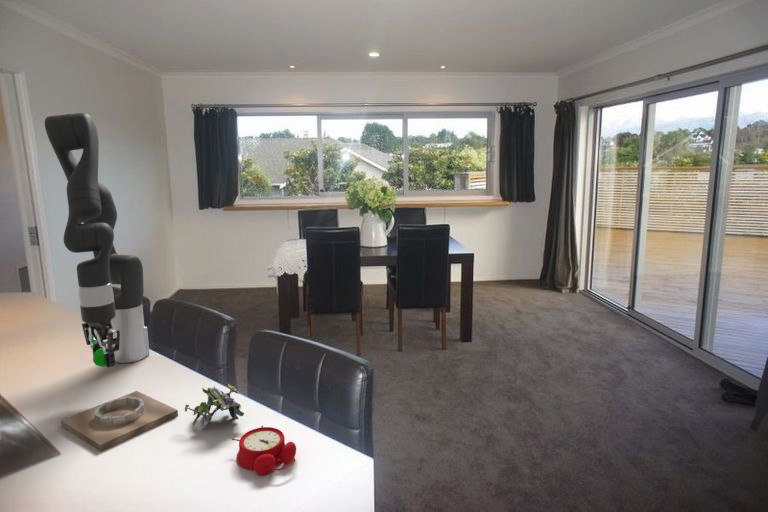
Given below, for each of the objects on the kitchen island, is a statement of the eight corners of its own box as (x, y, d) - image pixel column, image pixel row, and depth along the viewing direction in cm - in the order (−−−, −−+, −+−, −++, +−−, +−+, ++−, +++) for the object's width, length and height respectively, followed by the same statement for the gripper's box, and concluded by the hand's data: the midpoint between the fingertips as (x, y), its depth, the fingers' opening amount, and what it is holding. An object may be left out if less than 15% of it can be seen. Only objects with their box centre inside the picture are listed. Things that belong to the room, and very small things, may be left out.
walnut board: (137, 396, 124) (136, 390, 124) (178, 415, 115) (177, 409, 114) (61, 426, 109) (60, 420, 109) (100, 451, 100) (100, 444, 100)
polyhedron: (116, 367, 122) (114, 349, 121) (94, 371, 120) (92, 353, 119) (114, 360, 126) (113, 343, 125) (93, 364, 124) (91, 347, 123)
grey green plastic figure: (233, 438, 115) (257, 407, 111) (193, 451, 106) (217, 418, 102) (213, 401, 120) (234, 370, 116) (173, 411, 111) (195, 377, 107)
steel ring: (130, 400, 119) (129, 393, 118) (152, 412, 113) (152, 404, 113) (87, 417, 110) (86, 409, 110) (109, 430, 105) (108, 422, 105)
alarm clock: (266, 420, 106) (305, 431, 96) (271, 447, 106) (310, 461, 96) (223, 438, 99) (261, 452, 88) (228, 467, 99) (266, 485, 89)
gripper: (127, 302, 119) (134, 364, 122) (97, 293, 126) (104, 353, 130) (96, 309, 113) (104, 375, 116) (67, 300, 120) (75, 362, 124)
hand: (104, 363), depth 123 cm, fingers closed on polyhedron, 5 cm apart
